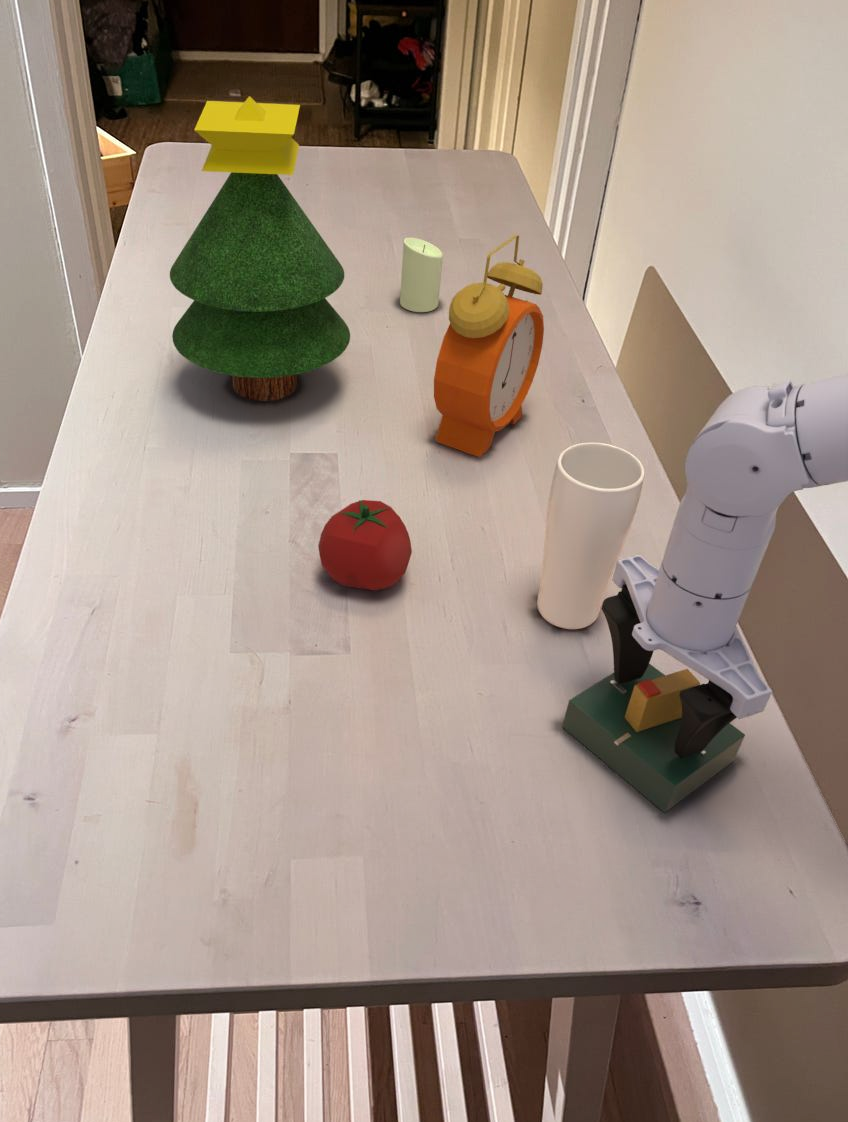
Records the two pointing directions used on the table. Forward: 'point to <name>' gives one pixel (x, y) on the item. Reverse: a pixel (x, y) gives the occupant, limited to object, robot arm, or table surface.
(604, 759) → the knob panel
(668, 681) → the yellow block
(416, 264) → the candle
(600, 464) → the drinking glass
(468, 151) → the table surface
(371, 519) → the tomato
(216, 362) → the decorative tree
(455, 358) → the alarm clock
